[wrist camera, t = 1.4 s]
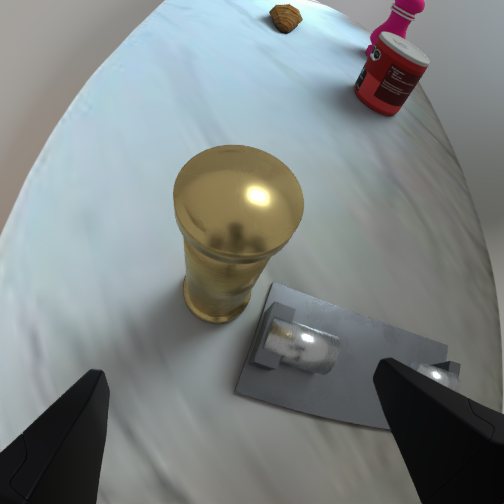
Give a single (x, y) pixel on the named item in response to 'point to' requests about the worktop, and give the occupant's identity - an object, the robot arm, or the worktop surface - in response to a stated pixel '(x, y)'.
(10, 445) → the robot arm
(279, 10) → the croissant
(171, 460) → the worktop surface
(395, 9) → the pepper mill
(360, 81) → the canned food
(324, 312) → the shaft bed
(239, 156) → the gold flanged cylinder
